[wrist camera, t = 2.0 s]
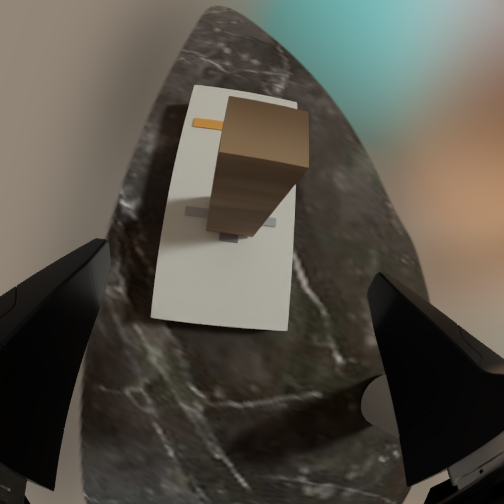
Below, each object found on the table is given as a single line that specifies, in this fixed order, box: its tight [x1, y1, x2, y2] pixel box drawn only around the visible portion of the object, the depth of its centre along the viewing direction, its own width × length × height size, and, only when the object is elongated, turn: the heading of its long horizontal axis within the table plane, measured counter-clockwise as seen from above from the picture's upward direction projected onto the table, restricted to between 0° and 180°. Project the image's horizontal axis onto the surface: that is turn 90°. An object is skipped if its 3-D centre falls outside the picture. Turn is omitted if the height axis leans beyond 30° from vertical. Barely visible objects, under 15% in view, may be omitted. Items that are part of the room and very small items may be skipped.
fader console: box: [151, 85, 297, 331], centre depth 21 cm, size 18×9×3 cm, turn 175°
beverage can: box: [361, 374, 399, 439], centre depth 15 cm, size 5×5×12 cm
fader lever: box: [206, 96, 309, 237], centre depth 14 cm, size 2×3×10 cm
